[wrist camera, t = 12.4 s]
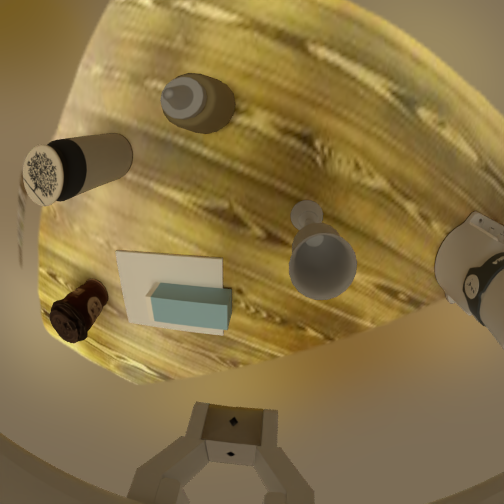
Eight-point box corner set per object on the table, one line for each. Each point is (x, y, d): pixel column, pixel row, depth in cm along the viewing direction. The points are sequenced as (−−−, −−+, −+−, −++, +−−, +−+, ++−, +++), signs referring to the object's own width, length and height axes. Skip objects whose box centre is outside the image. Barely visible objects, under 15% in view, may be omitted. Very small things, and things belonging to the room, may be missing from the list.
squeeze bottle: (247, 120, 39) (226, 112, 23) (197, 142, 41) (148, 151, 25) (226, 73, 37) (192, 38, 20) (177, 96, 38) (118, 80, 22)
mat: (222, 257, 48) (222, 259, 48) (223, 333, 55) (223, 335, 54) (116, 249, 50) (115, 251, 49) (130, 320, 56) (129, 322, 55)
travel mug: (116, 123, 40) (41, 128, 24) (141, 158, 43) (73, 179, 26) (87, 154, 43) (14, 174, 26) (111, 188, 45) (42, 221, 29)
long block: (227, 305, 45) (145, 296, 46) (227, 330, 47) (149, 320, 48) (231, 289, 50) (155, 282, 51) (231, 313, 52) (158, 305, 53)
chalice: (331, 234, 45) (358, 294, 29) (289, 241, 46) (294, 304, 30) (325, 189, 42) (354, 227, 26) (281, 196, 44) (283, 238, 27)
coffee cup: (116, 284, 53) (82, 321, 41) (113, 315, 56) (83, 353, 44) (81, 268, 52) (44, 300, 40) (80, 299, 55) (48, 333, 43)
